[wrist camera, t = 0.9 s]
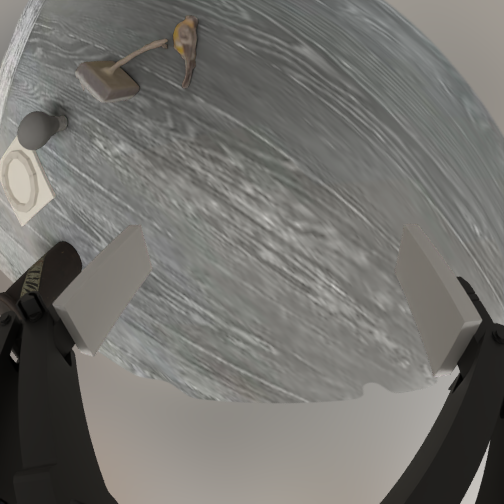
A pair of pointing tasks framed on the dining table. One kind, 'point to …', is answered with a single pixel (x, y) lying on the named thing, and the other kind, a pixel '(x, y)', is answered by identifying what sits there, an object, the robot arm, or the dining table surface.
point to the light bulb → (39, 129)
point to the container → (44, 277)
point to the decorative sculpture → (112, 76)
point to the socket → (24, 182)
